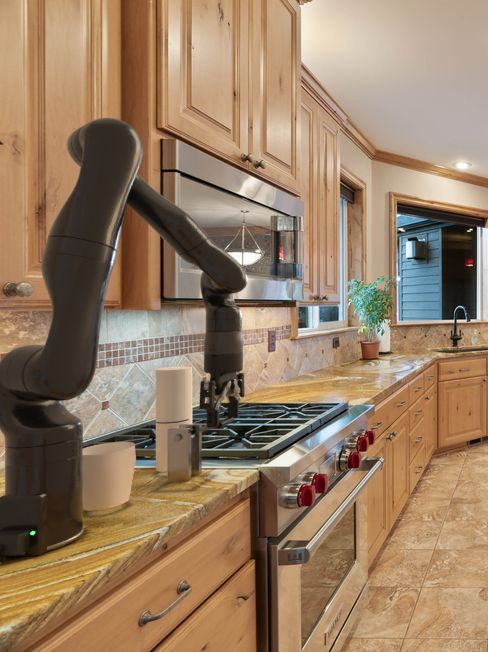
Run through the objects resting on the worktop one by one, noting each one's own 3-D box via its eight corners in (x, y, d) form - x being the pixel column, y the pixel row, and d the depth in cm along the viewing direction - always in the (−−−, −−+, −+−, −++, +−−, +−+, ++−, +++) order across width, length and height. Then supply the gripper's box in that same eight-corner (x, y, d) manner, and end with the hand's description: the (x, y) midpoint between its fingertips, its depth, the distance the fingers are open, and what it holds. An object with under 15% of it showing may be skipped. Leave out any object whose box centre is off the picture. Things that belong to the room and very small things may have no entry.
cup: (91, 502, 94) (91, 443, 94) (144, 497, 97) (144, 440, 96) (63, 522, 85) (63, 457, 85) (122, 515, 88) (122, 452, 88)
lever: (236, 423, 108) (232, 413, 108) (223, 429, 102) (220, 419, 102) (187, 438, 107) (184, 428, 107) (172, 445, 102) (169, 434, 101)
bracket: (214, 475, 109) (214, 421, 109) (191, 490, 100) (191, 431, 100) (178, 476, 109) (178, 422, 108) (152, 491, 100) (152, 432, 100)
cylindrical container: (148, 475, 109) (148, 369, 109) (177, 465, 116) (177, 365, 116) (170, 478, 107) (170, 370, 107) (199, 468, 114) (199, 367, 114)
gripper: (223, 348, 112) (223, 415, 112) (187, 353, 98) (186, 430, 98) (255, 348, 112) (255, 415, 112) (224, 353, 98) (223, 430, 98)
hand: (223, 422), depth 105 cm, fingers open, 8 cm apart
